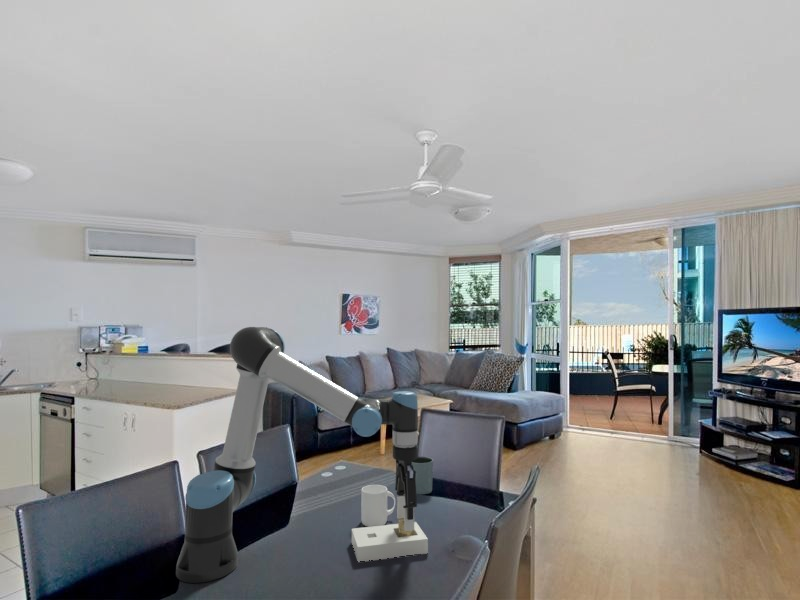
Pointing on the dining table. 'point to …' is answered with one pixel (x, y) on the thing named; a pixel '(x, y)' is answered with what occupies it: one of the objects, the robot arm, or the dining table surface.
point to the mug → (375, 505)
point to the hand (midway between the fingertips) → (405, 523)
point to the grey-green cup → (423, 474)
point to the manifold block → (387, 542)
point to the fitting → (401, 529)
